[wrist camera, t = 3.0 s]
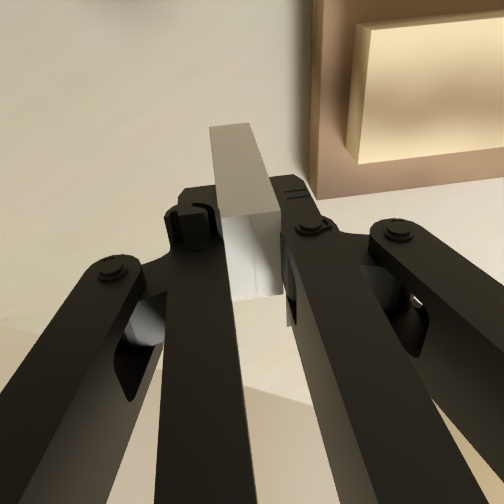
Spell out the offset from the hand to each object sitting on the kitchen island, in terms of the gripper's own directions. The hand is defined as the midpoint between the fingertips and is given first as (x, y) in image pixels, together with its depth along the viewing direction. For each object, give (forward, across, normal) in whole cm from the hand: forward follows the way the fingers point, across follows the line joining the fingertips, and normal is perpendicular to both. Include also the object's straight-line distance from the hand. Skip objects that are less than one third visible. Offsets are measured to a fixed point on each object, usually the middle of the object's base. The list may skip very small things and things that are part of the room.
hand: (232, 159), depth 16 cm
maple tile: (+6, +11, 0) cm, 12 cm away
